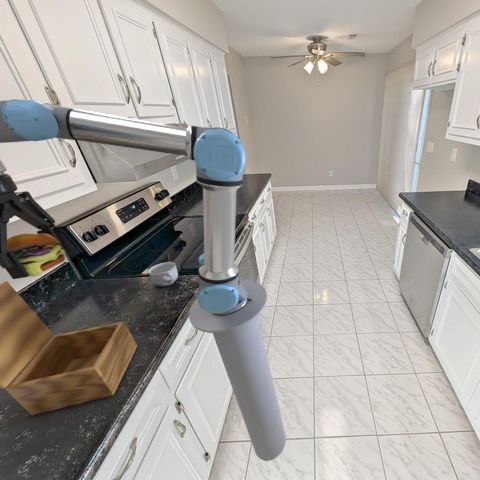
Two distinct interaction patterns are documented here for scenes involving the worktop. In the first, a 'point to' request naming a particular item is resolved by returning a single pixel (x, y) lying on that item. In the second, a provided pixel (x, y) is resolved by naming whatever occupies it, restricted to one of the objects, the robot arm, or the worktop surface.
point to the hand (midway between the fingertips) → (40, 263)
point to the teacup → (163, 273)
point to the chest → (74, 368)
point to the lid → (18, 334)
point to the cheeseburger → (36, 252)
